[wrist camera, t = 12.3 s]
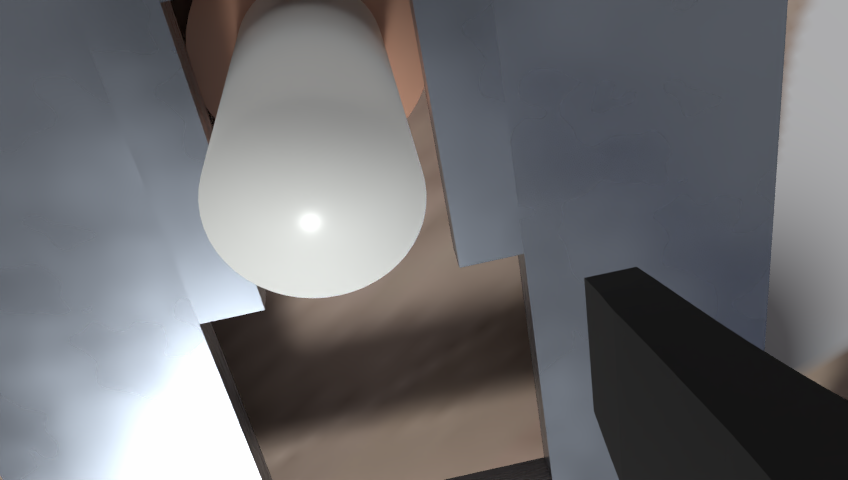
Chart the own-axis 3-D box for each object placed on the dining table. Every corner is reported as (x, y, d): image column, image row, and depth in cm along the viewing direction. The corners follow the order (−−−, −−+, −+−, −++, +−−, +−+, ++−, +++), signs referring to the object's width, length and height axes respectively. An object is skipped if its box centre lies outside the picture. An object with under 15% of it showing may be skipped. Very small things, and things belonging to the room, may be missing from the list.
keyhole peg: (401, -108, 16) (472, -24, 9) (440, 118, 19) (518, 313, 12) (159, -58, 16) (52, 63, 9) (231, 162, 19) (189, 384, 12)
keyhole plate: (712, -384, 15) (815, -425, 12) (701, 414, 25) (754, 499, 22) (-270, -189, 14) (-421, -181, 11) (132, 541, 24) (109, 645, 21)
